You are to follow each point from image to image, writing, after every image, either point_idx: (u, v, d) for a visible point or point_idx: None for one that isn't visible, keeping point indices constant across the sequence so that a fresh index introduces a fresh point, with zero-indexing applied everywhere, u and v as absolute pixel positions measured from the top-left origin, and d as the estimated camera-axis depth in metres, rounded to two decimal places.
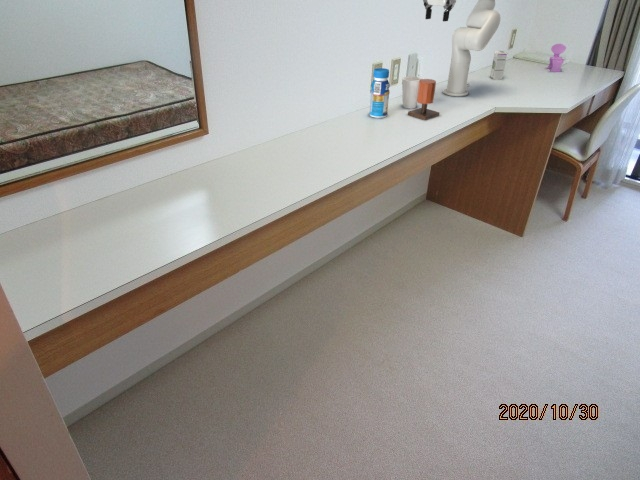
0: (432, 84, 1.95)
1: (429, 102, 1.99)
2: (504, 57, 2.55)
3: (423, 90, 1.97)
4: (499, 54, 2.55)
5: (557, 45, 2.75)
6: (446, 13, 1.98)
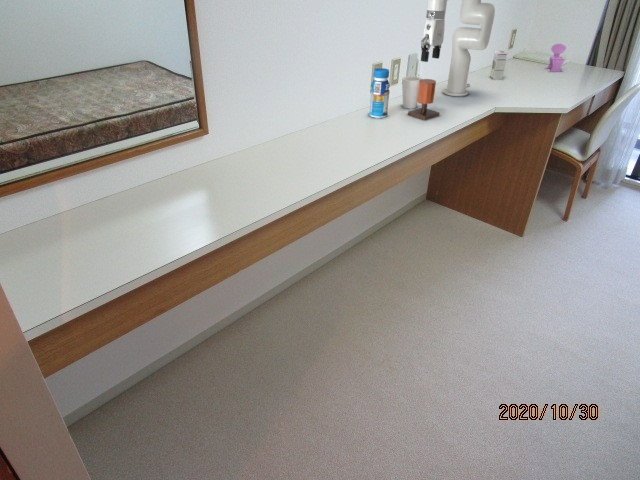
0: (432, 84, 1.95)
1: (429, 102, 1.99)
2: (504, 57, 2.55)
3: (423, 90, 1.97)
4: (499, 54, 2.55)
5: (557, 45, 2.75)
6: (422, 53, 1.87)
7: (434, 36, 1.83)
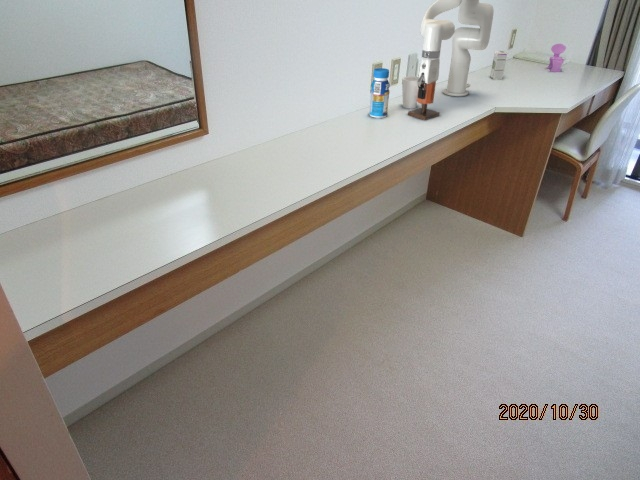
0: (432, 84, 1.95)
1: (429, 102, 1.99)
2: (504, 57, 2.55)
3: None
4: (499, 54, 2.55)
5: (557, 45, 2.75)
6: None
7: (429, 74, 1.91)
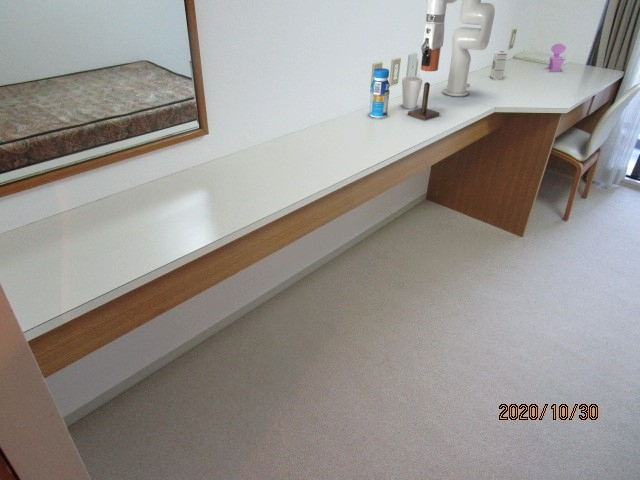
0: (437, 50, 1.88)
1: (433, 69, 1.92)
2: (504, 57, 2.55)
3: None
4: (499, 54, 2.55)
5: (557, 45, 2.75)
6: None
7: (434, 40, 1.84)
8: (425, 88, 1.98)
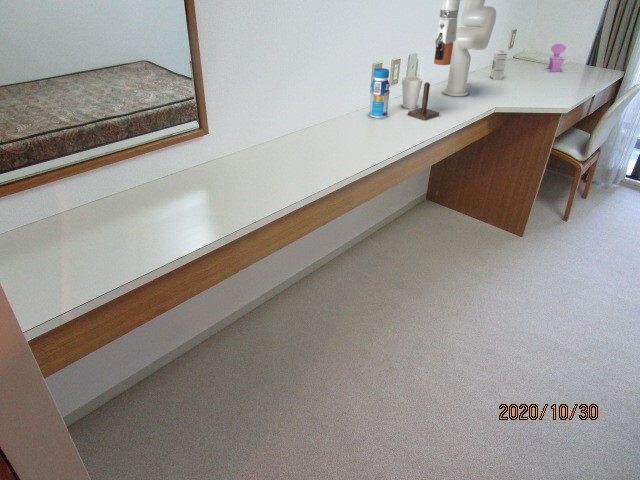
0: (450, 45, 1.96)
1: (446, 63, 2.00)
2: (504, 57, 2.55)
3: None
4: (499, 54, 2.55)
5: (557, 45, 2.75)
6: (437, 52, 1.98)
7: (447, 34, 1.93)
8: (425, 88, 1.98)
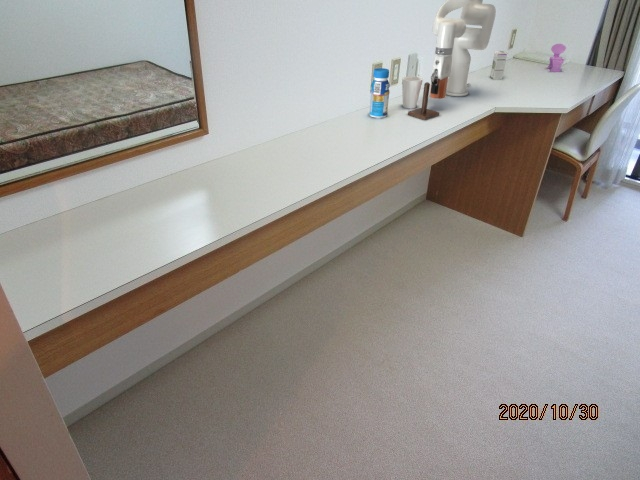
0: (445, 80, 2.04)
1: (441, 97, 2.08)
2: (504, 57, 2.55)
3: None
4: (499, 54, 2.55)
5: (557, 45, 2.75)
6: (432, 86, 2.06)
7: (442, 70, 2.01)
8: (425, 88, 1.98)
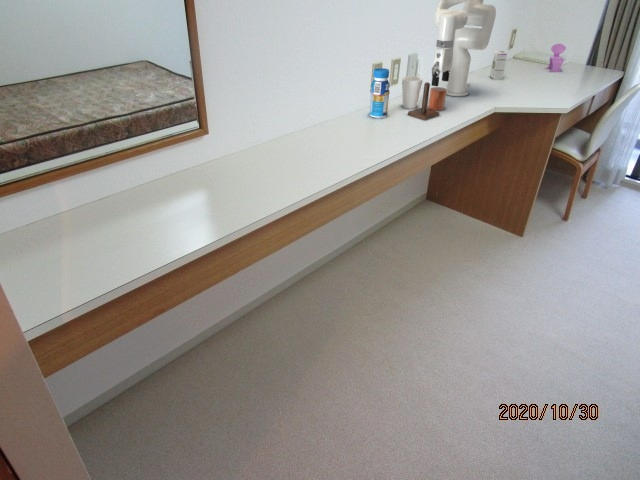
0: (443, 92, 2.07)
1: (440, 109, 2.11)
2: (504, 57, 2.55)
3: (434, 98, 2.09)
4: (499, 54, 2.55)
5: (557, 45, 2.75)
6: (433, 78, 2.04)
7: (444, 63, 1.99)
8: (425, 88, 1.98)
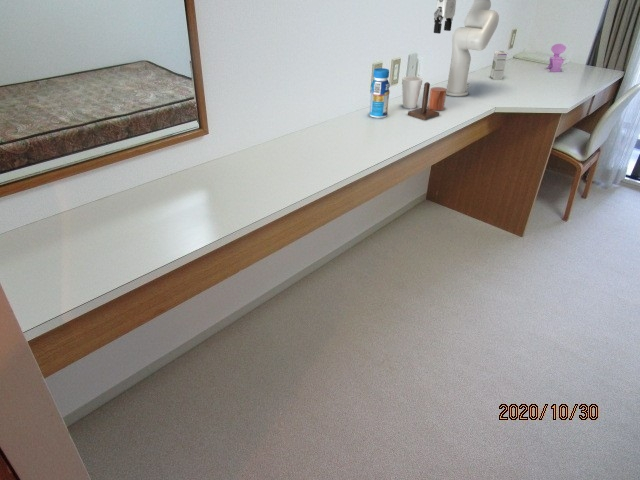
0: (443, 92, 2.07)
1: (440, 109, 2.11)
2: (504, 57, 2.55)
3: (434, 98, 2.09)
4: (499, 54, 2.55)
5: (557, 45, 2.75)
6: None
7: (446, 8, 1.94)
8: (425, 88, 1.98)
